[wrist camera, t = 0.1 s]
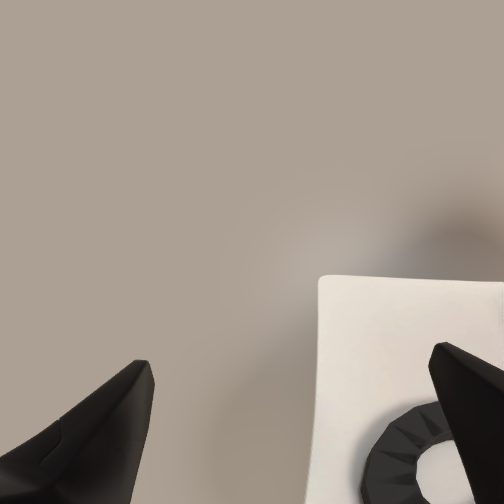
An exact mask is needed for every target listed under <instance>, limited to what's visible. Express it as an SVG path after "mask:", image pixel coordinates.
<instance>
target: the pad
mask: <svg viewBox="0 0 504 504" xmlns="http://www.w3.org/2000/svg"><path fill="white" fill-rule="evenodd" d="M446 440H454V439H453V436H452V434H451V431H450V429H449V426H448V424H447V421H446V419H445V416H444V414H443V412H442V409H441V406H440V403H439V401H437V402H433V403H429V404H425V405H421V406H416V407H414V408H413V409H411V410H410V411H408V412H407V413H405V414H404V415H402V416H401V417H399V418H398V419H396V420H394V421H393V422H391V423H390V424H389V425H388V427H387V428H386V430H385V431H384V433H383V434H382V436H381V437H380V438H379V440H378V441H377V442H376V444H375V445H374V447H373V448H372V450H371V452H370V454H369V456H368V459H367V464H366V469H365V474H364V478H363V483H362V487H361V493H362V497H363V501H364V504H430V503H429V502H428V501H427V500H426V499H425V498H424V497H423V496H422V493H421V491H420V488H419V485H418V483H417V480H416V472H417V461H418V459H419V457H420V455H421V454H422V453H423V452H425V451H426V450H427V449H428V448H430V447H431V446H432V445H434V444H437V443H440V442H443V441H446Z"/></svg>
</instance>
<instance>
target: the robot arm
mask: <svg viewBox="0 0 504 504" xmlns="http://www.w3.org/2000/svg"><path fill="white" fill-rule="evenodd" d="M428 368H429V372H430V375H431V378H432V381H433V384H434V387H435V391H436V394H437V397H438V400H439V403H440V406H441V409H442V412H443V414H444V416H445V419H446V421H447V424H448V426H449V429H450V431H451V434H452V436H453V439H454V441H455V444H456V447H457V449H458V452H459V455H460V458H461V460H462V463H463V466H464V469H465V472H466V475H467V478H468V481H469V484H470V487H471V490H472V493H473V496H474V499H475V503H476V504H504V371H503V370H501V369H499V368H497V367H495V366H493V365H491V364H489V363H487V362H485V361H484V360H482V359H480V358H478V357H476V356H474V355H472V354H470V353H468V352H466V351H464V350H462V349H460V348H458V347H456V346H454V345H452V344H450V343H448V342H442V343H438V344H436V345H435V346H434V349H433V352H432V355H431V358H430V361H429V365H428ZM154 386H155V383H154V378H153V374H152V371H151V367H150V364H149V362H148V361H147V360H134V361H133V362H132V363H130V364H129V365H128V366H126V367H125V368H124V369H123V370H121V371H120V372H119V373H117V374H116V375H115V376H114V377H112V378H111V379H110V380H109V381H107V382H106V383H105V384H103V385H102V386H101V387H99V388H98V389H97V390H96V391H94V392H93V393H92V394H90V395H89V396H88V397H86V398H85V399H84V400H83V401H82V402H80V403H79V404H77V405H76V406H75V407H74V408H72V409H71V410H70V411H69V412H67V413H66V414H64V415H63V416H62V417H60V419H59V420H56V421H55V422H54V423H52V424H51V425H50V426H49V427H47V428H46V429H44V430H43V431H42V432H40V433H39V434H37V435H36V436H34V437H33V438H31V439H29V440H28V441H26V442H25V443H23V444H21V445H20V446H18V447H16V448H15V449H13V450H11V451H10V452H8V453H6V454H5V455H3V456H1V457H0V504H130V501H131V497H132V492H133V488H134V484H135V480H136V476H137V472H138V468H139V464H140V460H141V456H142V452H143V448H144V444H145V441H146V437H147V433H148V428H149V422H150V415H151V408H152V401H153V394H154Z"/></svg>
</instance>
